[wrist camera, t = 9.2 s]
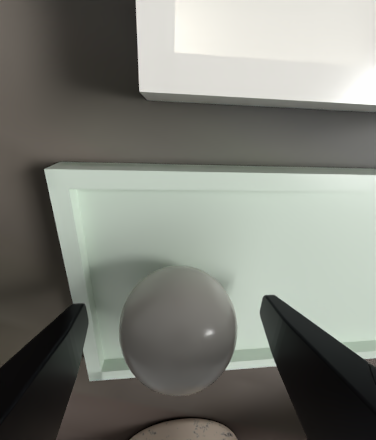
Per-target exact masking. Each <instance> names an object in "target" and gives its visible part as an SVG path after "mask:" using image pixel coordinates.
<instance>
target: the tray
mask: <svg viewBox="0 0 376 440" xmlns="http://www.w3.org/2000/svg"><path fill="white" fill-rule="evenodd" d="M44 171H45V176H46V181H47V185H48V190H49V195H50V199H51V204H52V208H53V213H54V218H55V222H56V227H57V232H58V236H59V241H60V246H61V250H62V255H63V260H64V264H65V269H66V274H67V278H68V283H69V288H70V292H71V297H72V302H73V304H74V303H84V304H85V305H86V309H87V314H88V320H89V324H88V329H87V334H86V339H85V343H84V348H83V353H84V357H85V362H86V367H87V371H88V376H89V381H99V380H111V379H123V378H136V377H135V376H134V375H133V374H132V372H131V371H130V369H129V367H128V366H127V364H126V362H125V360H124V357H123V355H122V351H121V347H120V342H119V322H120V316H121V313H122V309H123V306H124V304H125V302H126V300H127V298H128V296H129V294H130V293H131V291H132V290H133V289H134V287H135V286H136V285H137V284H138V283H139V282H140V281H141V280H142V279H143V278H145V277H146V276H147V275H149V274H150V273H152V272H154V271H156V270H158V269H161V268H164V267H168V266H175V265H184V266H190V267H194V268H197V269H200V270H202V271H204V272H206V273H208V274H209V275H211V276H212V277H214V278H215V279H216V280H217V281H218V282H219V283H220V284H221V285H222V286H223V288H224V289H225V291H226V292H227V293H228V295H229V297H230V299H231V301H232V303H233V306H234V310H235V313H236V318H237V327H238V330H237V342H236V347H235V350H234V353H233V356H232V359H231V361H230V363H229V364H228V366H227V368H226V369H225V370H234V369H247V368H259V367H271V366H276V363H275V361H274V358H273V356H272V353H271V350H270V347H269V344H268V340H267V337H266V334H265V331H264V327H263V324H262V321H261V318H260V307H261V303H262V298H263V296H264V295H275V296H277V297H278V298H280V299H281V300H282V301H284V302H285V303H287V304H288V305H289V306H291V307H292V308H294V309H295V310H296V311H298V312H299V313H301V314H302V315H303V316H305V317H306V318H308V319H309V320H310V321H312V322H313V323H314V324H316V325H317V326H319V327H320V328H321V329H323V330H324V331H326V332H327V333H328V334H330V335H331V336H333V337H334V338H335V339H337V340H338V341H340V342H341V343H342V344H344V345H345V346H346V347H348V348H349V349H351V350H352V351H353V352H355V353H356V354H358V355H359V356H360V357H362V358H363V359H370V358H376V168H330V167H284V166H238V165H192V164H146V163H99V162H58V163H56V164H54V165H52V166H50V167H47V168H45V169H44Z"/></svg>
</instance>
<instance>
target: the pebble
mask: <svg viewBox="0 0 376 440" xmlns="http://www.w3.org/2000/svg"><path fill="white" fill-rule="evenodd" d="M237 330H238V327H237V318H236V313H235V310H234V306H233V303H232V301H231V299H230V297H229V295H228V293H227V292H226V291H225V289H224V288H223V286H222V285H221V284H220V283H219V282H218V281H217V280H216V279H215V278H214V277H212V276H211V275H209V274H208V273H206V272H204V271H202V270H200V269H197V268H194V267H190V266H184V265H175V266H168V267H164V268H161V269H158V270H156V271H154V272H152V273H150V274H149V275H147V276H146V277H145V278H143V279H142V280H141V281H140V282H139V283H138V284H137V285H136V286H135V287H134V289H133V290H132V291H131V293H130V294H129V296H128V298H127V300H126V302H125V304H124V306H123V309H122V313H121V316H120V322H119V342H120V347H121V351H122V355H123V357H124V360H125V362H126V364H127V366H128V367H129V369H130V371H131V372H132V374H133V375H134V376H135V377H136V378H137V379H138V380H139V381H140V382H141V383H142V384H143V385H145V386H146V387H148V388H149V389H151V390H153V391H155V392H157V393H160V394H164V395H168V396H186V395H191V394H194V393H197V392H200V391H202V390H204V389H205V388H207V387H208V386H210V385H211V384H213V383H214V382H215V381H216V380H217V379H218V378H219V377H220V376H221V375H222V373H223V372H224V371H225V369H226V368H227V366H228V364H229V363H230V361H231V359H232V356H233V353H234V350H235V347H236V342H237Z"/></svg>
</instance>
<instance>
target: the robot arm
mask: <svg viewBox="0 0 376 440" xmlns="http://www.w3.org/2000/svg"><path fill="white" fill-rule="evenodd" d="M260 318H261V321H262V324H263V327H264V331H265V334H266V337H267V340H268V344H269V347H270V350H271V353H272V356H273V358H274V361H275V363H276V366H277V368H278V371H279V373H280V375H281V378H282V380H283V382H284V385H285V387H286V390H287V392H288V394H289V397H290V399H291V401H292V404H293V406H294V408H295V411H296V413H297V416H298V418H299V420H300V423H301V425H302V427H303V430H304V432H305V435H306V437H307V439H308V440H376V367H374V366H373V365H372V364H368V362H367V361H366V360H365V359H363V358H362V357H360V356H359V355H358V354H356V353H355V352H353V351H352V350H351V349H349V348H348V347H346V346H345V345H344V344H342V343H341V342H340V341H338V340H337V339H335V338H334V337H333V336H331V335H330V334H328V333H327V332H326V331H324V330H323V329H321V328H320V327H319V326H317V325H316V324H314V323H313V322H312V321H310V320H309V319H308V318H306V317H305V316H303V315H302V314H301V313H299V312H298V311H296V310H295V309H294V308H292V307H291V306H289V305H288V304H287V303H285V302H284V301H282V300H281V299H280V298H278V297H277V296H275V295H264V296H263V298H262V303H261V307H260ZM88 324H89V320H88V314H87V309H86V305H85V304H84V303H74V304H72V305H70V306H69V307H68V308H67V309H66V310H65V311H64V312H63V313H61V314H60V315H59V316H58V317H57V318H56V319H55V320H54V321H52V322H51V323H50V324H49V325H48V326H47V327H46V328H45V329H43V330H42V331H41V332H40V333H39V334H38V335H37V336H35V337H34V338H33V339H32V340H31V341H30V342H29V343H28V344H26V345H25V346H24V347H23V348H22V349H21V350H20V351H19V352H17V353H16V354H15V355H14V356H13V357H12V358H11V359H10V360H8V361H7V362H6V363H5V364H4V365H3V366H2V367H1V368H0V440H56V437H57V434H58V431H59V428H60V425H61V422H62V419H63V416H64V413H65V410H66V407H67V404H68V401H69V398H70V395H71V392H72V389H73V386H74V383H75V380H76V377H77V373H78V370H79V366H80V361H81V357H82V352H83V348H84V343H85V339H86V334H87V329H88Z"/></svg>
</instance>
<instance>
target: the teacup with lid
mask: <svg viewBox="0 0 376 440" xmlns="http://www.w3.org/2000/svg"><path fill="white" fill-rule="evenodd" d="M130 440H237V438H236V436H235V435H234V433H233V432H232V431H231V430H230V429H229V428H228V427H226V426H224V425H222V424H220V423H218V422H215V421H211V420H206V419H197V418H187V419H176V420H171V421H166V422H162V423H159V424H156V425H153V426H151V427H148V428H146V429H144V430H142V431H141V432H139V433H137V434H136V435H134V436H133V437H132V438H131V439H130Z"/></svg>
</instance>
